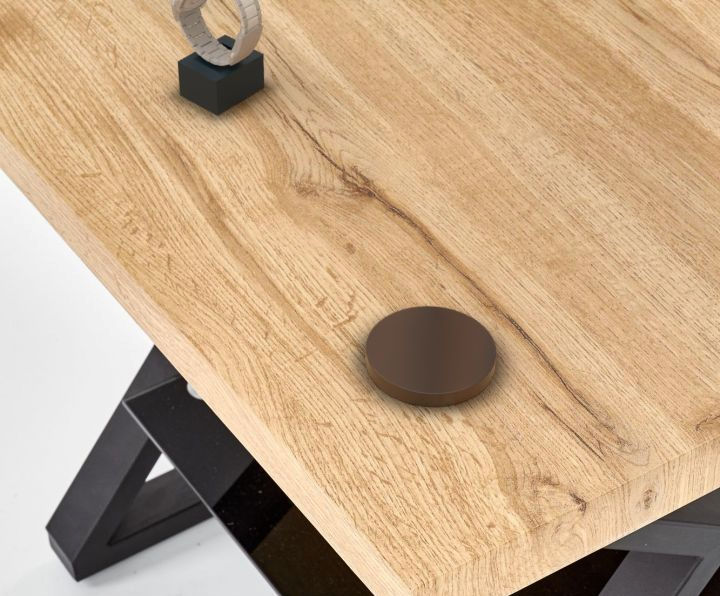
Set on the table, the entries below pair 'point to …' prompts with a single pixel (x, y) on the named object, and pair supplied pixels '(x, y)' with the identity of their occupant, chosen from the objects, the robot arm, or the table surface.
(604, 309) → the table surface
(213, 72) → the watch
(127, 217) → the table surface
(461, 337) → the walnut chip
